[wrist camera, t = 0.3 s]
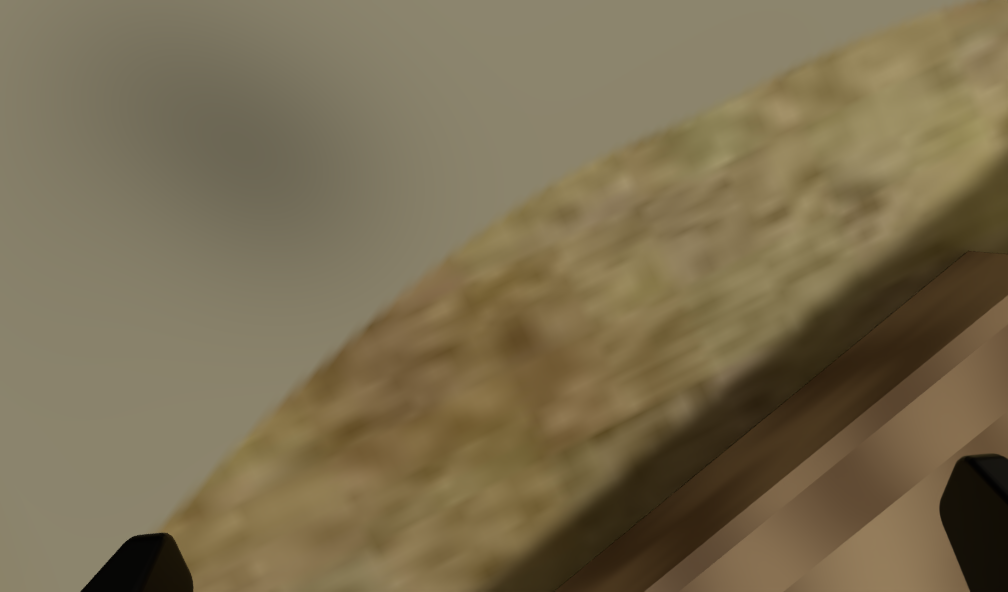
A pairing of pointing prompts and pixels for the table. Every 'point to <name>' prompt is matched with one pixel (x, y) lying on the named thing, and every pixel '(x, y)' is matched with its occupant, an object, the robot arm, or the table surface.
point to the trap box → (842, 464)
